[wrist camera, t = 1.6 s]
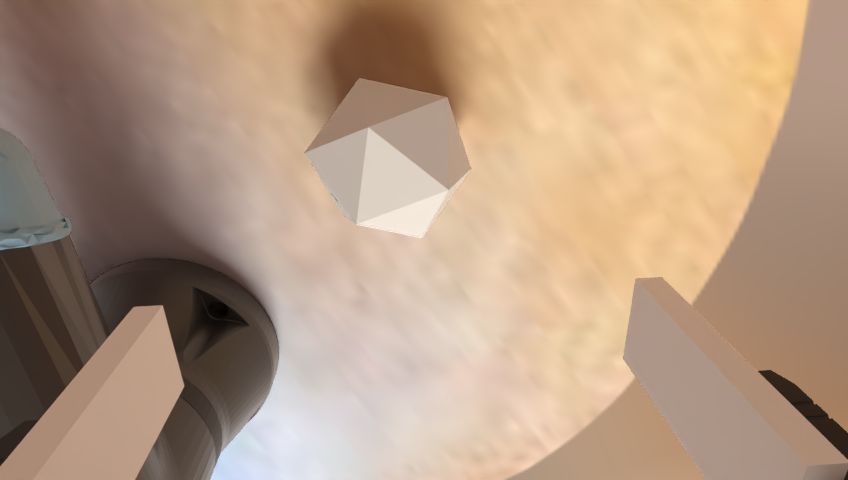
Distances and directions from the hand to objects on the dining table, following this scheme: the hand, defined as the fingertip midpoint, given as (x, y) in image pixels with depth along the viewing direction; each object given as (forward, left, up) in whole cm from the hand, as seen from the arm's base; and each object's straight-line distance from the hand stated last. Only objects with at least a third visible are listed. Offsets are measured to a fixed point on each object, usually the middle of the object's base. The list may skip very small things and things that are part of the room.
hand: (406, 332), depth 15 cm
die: (-1, 0, -22) cm, 22 cm away
